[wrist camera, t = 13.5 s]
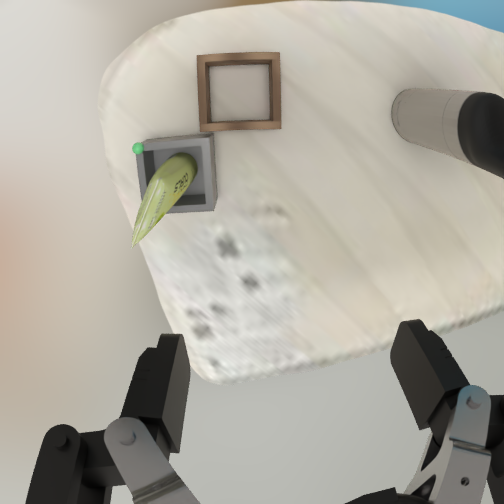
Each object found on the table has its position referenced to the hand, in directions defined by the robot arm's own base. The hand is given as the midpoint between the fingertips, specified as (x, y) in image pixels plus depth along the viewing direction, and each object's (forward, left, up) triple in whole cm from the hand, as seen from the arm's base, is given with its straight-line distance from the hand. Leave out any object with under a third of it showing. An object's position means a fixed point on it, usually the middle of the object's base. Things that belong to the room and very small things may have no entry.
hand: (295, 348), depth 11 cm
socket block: (+11, +1, -38) cm, 39 cm away
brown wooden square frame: (+2, -10, -38) cm, 39 cm away
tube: (+11, +1, -37) cm, 39 cm away
